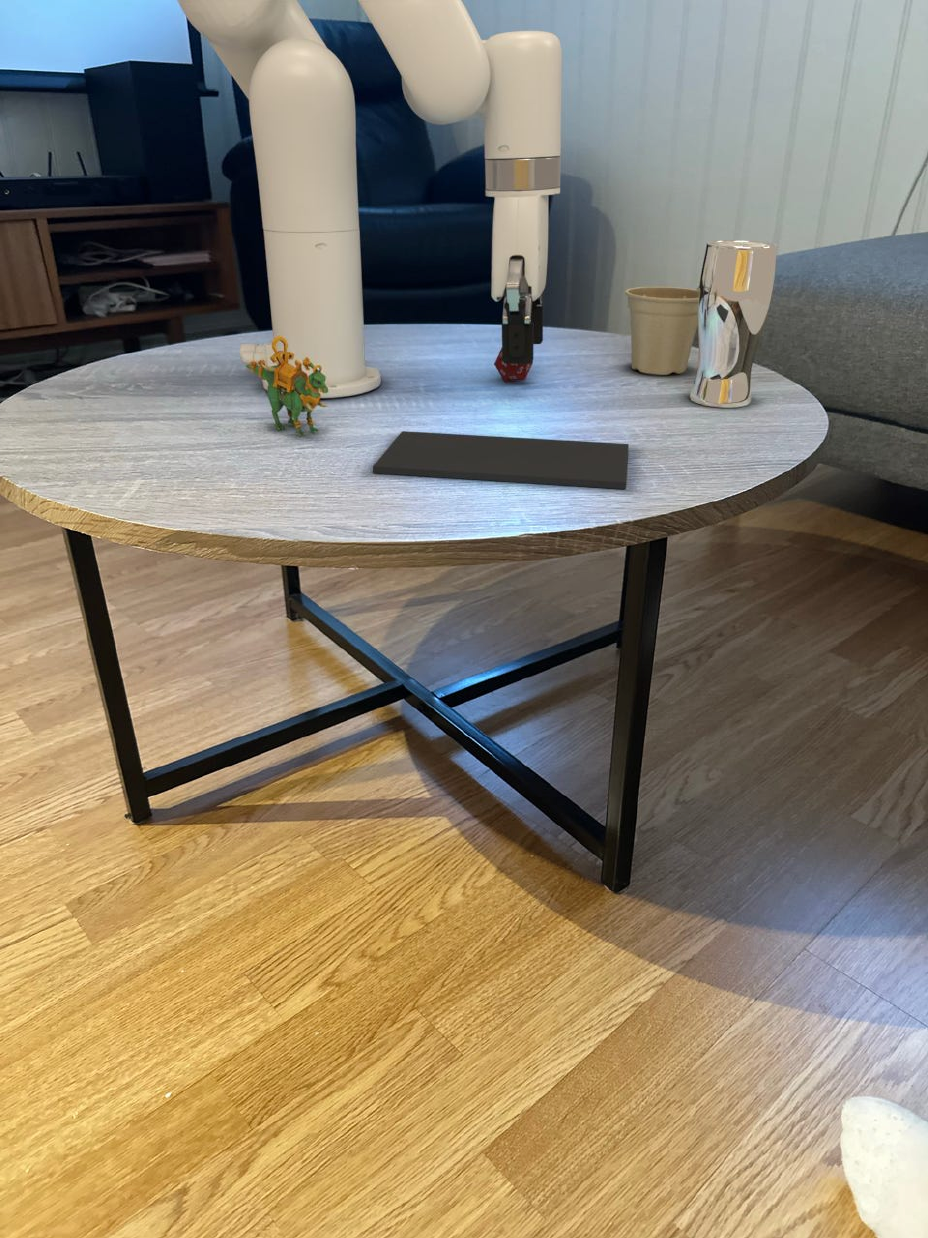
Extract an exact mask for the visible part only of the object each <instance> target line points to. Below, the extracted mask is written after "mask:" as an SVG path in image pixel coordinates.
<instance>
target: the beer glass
mask: <svg viewBox="0 0 928 1238" xmlns="http://www.w3.org/2000/svg"><path fill="white" fill-rule="evenodd" d="M777 252H778V244H777V243H774V242H769V241H768V242H767V241H758V240H743V239H742V240H741V239H737V240H735V239H733V240H732V239H729V240H728V239H725V240H720V239H719V240H712V241H711V240H710V241H707V242H706V247H705V252H704V256H703V260H702V261H703V262H702V267H701V273H700V277H699V283H698V290H699V292H698V316H697V317H698V325H697V337H698V361H697V362H698V363H697V369H696V372H695V373H696V374H695V378H694V381H693V384H692V388H691V390H690V395H689V399H690V401H692V402H693V403H694V404H697V405H701V406H705V407H710V408H720V409H722V408H723V409H734V408H735V409H736V408H742V407H747V406H748V405H750V404H751V402H752V370H753V365H754V359H755V355H756V352H757V348H758V346H759V344H760V341H761V340H760V339H761V337H762V334H763V332H764V328H765V324H766V321H767V318H768V314H769V312H770V307H771V303H772V297H773V292H774V287H775V286H774V285H775V276H776V266H777V265H776V264H777V254H778V253H777Z"/></svg>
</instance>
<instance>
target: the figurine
mask: <svg viewBox="0 0 928 1238" xmlns="http://www.w3.org/2000/svg"><path fill="white" fill-rule="evenodd" d="M272 341H273V342H272V349H273V350H274V352H275V354H273V355H272V356H271V357H270V359H271V361H272V362H273V363H276V362H277V361H278V362H279V363H278V362H277V365H275V366H270V367H268V366H265V361H264V360H260V361H258V364H257V362H256V361H250V364H244V366H245V367H246V368H247V369H248V370H249V371H250V372H251V373H253V374H254V375H257V376H258V377H259V378H260V379H261V380H262V379H263V380H266V381H267V383H268V389H267V390H266V394H267V397H268V398H267V399H268V402H269V404H270V407H271V414H272V418H273V420H274V423H275V424H274V427H276V429H277V431H281V430H284V429H286V428H287V425H285V424H284V425H283V424H282V422H281V421H280V418H279V415H278V413H279V412H280V411H281V410H283V408H284V407H285V410H286V411H287V414H288V417H289V418H288V422H287V424H289V425H291V426H292V427H295V429H296V431H297V434H298V436H299V437H301V436H302V435H303V436H306V435H307V433H306V432H303V431H302V429H301V427H302V424H301V421H300V420H299V416H300V415H301V413H306V418H305V419H306V421H307V422H306V424H307V425H308V427H309V430H310V431H311V432H312V433H317V432H319V431H320V429H318V428H315V427H314V420H313V417H312V416H311V415H312V412H313V411H314V410H315V409H316V407H317V406H319V407H321V408H328V407H329V405H327V404H325V403H324V402H322V401H321V399H322V398H321V393H319V389H320V392H322V393H328V388H327V386H326V384H325V379H326V376H325V375H323V374H322V373H321V370H322V367H321V366H320V365H316V366H314V365H313V364H312V362H310V360H309V358H308V357H305V359H303V365H304V366H305V369H306V370H310V368H309V367H311V368H312V369H313V373H312V374H310V375H309V376H307V374H306V373H305V372H304V371H302V366H301V365H302V363H300V362H299V361H298V360H295V365H296V368H295V367H294V366H292V365H290V364H289V363H288V362H289V359H290V360H291V359H293V358H294V354H293V353H291V352H287V348H288V343H287V341H286V340H285V338H283V337H281V336H277V337H275V338H274V339H273V338H272ZM278 341H281V342H282V343H283V344H284V351H278V352H277V349H276V343H277V342H278ZM281 354H283V355H282V356H281ZM275 358H276V359H277V360H276V359H275ZM251 364H252V365H251ZM308 366H309V367H308ZM317 367H319V371H318V369H317Z"/></svg>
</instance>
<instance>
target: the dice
mask: <svg viewBox="0 0 928 1238" xmlns="http://www.w3.org/2000/svg"><path fill="white" fill-rule="evenodd" d="M533 363H534V360H533V361H532V363H530V364H505V363H503V361H502V347H501V349H500V350H499V352H498V354H497V357H496V359H495V360H494V363H493V365H494V367H495V369H496V370H497V372H498V374H499V376H500V377H501V380H502V381H503V382H504V383H507V382H519V381H520V382H521V381H525V380H526V378H527V377H528V376H527V375H528V374H529V372H530V371H531V368H532V365H533Z"/></svg>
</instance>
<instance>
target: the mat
mask: <svg viewBox="0 0 928 1238" xmlns="http://www.w3.org/2000/svg"><path fill="white" fill-rule="evenodd" d="M629 447H630V446H629V443H619V442H618V443H615V442H601V441H600V442H599V441H583V440H581V441H580V440H566V439H546V438H530V437H529V438H528V437H514V436H513V437H511V436H494V435H476V434H460V433H459V434H458V433H443V432H442V433H441V432H426V431H425V432H424V431H423V432H422V431H407V430H402V431H401V432H400V433H399V435H398V436H397V437H396V438H395V439H394V440H393V441H392V443H391V444H390V445H389V446H388V447H387V448H386V450H385V451H384V452H383V454H382V455H381V456H380V457H379V458H378V459H377V461H375V463H374V464H373V465H372V472H373V474H384V475H385V474H386V475H400V476H401V475H402V476H414V477H415V476H416V477H428V478H429V477H431V478H445V479H459V480H460V479H461V480H462V479H463V480H475V481H476V480H477V481H494V482H508V483H509V482H510V483H523V484H536V485H537V484H538V485H553V486H555V485H556V486H571V487H584V488H585V487H586V488H598V489H599V488H601V489H614V490H615V489H616V490H617V489H618V490H626V489H627V481H628V480H627V478H628V462H629Z"/></svg>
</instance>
